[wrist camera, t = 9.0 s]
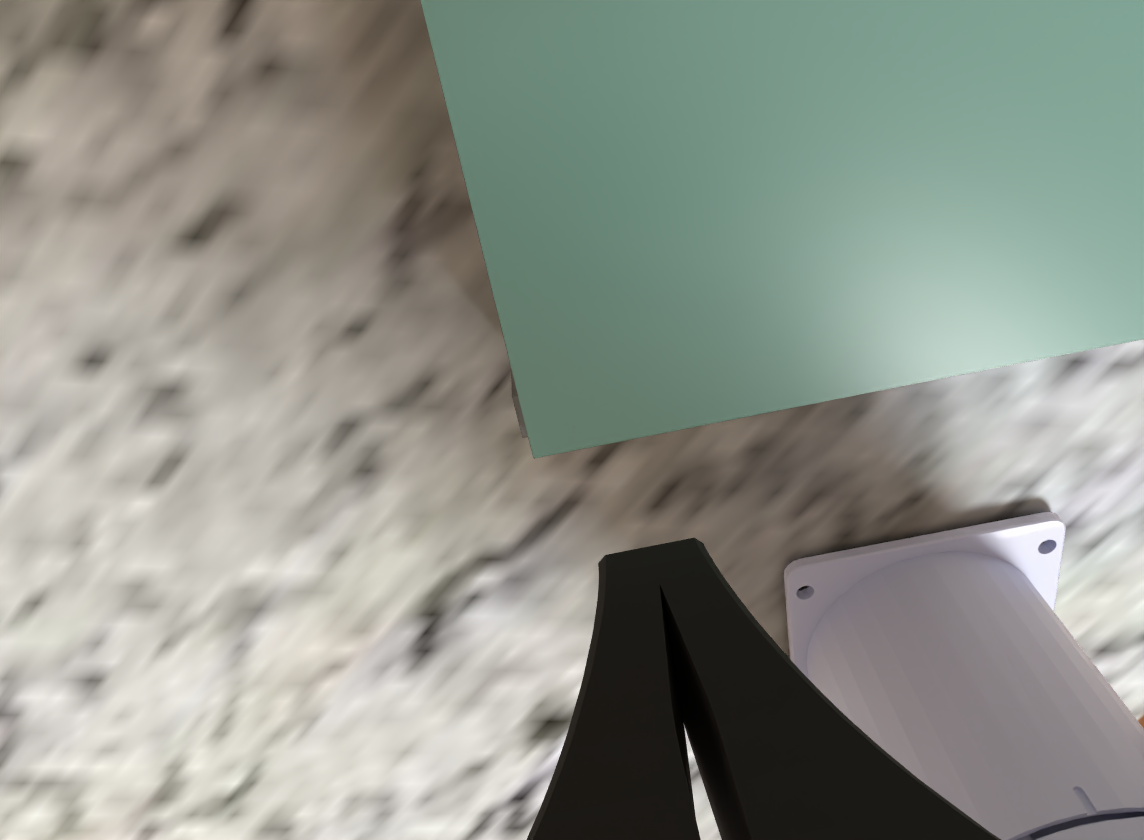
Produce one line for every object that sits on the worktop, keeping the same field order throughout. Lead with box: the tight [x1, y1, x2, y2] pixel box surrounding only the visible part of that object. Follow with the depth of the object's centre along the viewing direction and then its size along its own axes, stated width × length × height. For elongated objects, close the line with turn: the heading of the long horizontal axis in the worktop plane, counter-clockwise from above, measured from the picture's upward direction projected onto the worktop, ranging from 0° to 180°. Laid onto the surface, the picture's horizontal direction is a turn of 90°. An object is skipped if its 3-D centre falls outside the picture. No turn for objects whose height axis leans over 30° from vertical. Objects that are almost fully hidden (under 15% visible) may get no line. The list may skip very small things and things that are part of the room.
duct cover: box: [420, 0, 1144, 458], centre depth 15 cm, size 10×22×1 cm, turn 100°
